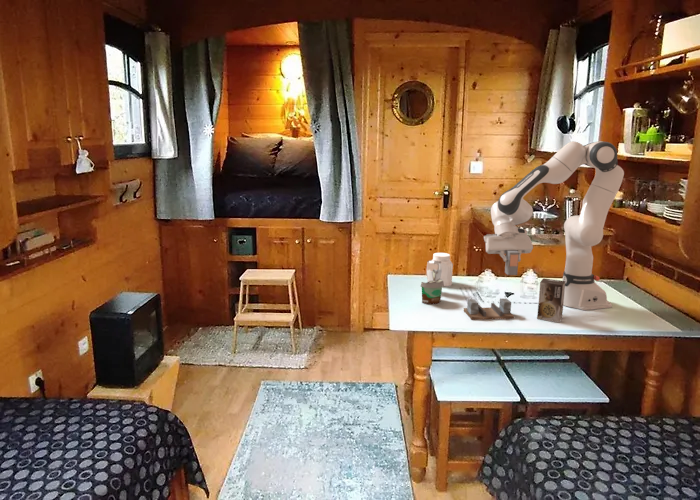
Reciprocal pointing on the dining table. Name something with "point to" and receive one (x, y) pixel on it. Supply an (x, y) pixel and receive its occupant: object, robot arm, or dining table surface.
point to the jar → (445, 267)
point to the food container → (432, 291)
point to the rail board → (489, 310)
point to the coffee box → (551, 300)
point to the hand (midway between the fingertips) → (512, 261)
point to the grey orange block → (512, 262)
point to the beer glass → (434, 270)
